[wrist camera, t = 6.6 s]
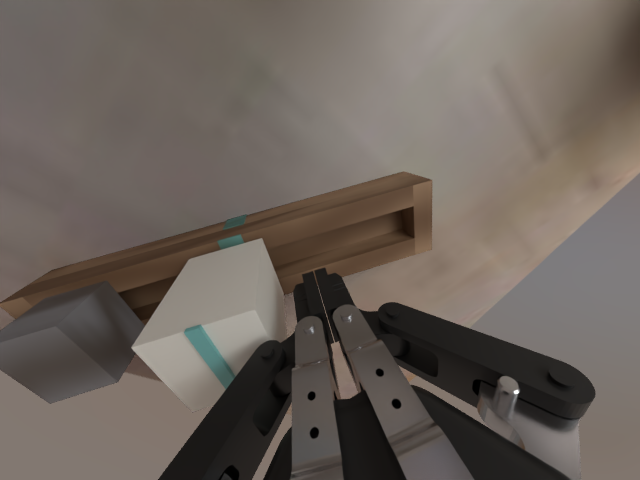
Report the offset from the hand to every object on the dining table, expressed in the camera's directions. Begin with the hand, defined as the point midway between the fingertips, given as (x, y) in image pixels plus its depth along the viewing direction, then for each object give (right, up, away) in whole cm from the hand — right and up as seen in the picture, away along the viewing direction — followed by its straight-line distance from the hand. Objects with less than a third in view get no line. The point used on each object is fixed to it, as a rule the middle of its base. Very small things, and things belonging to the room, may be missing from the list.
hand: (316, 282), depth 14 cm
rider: (-6, +1, +4) cm, 7 cm away
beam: (-6, +2, +6) cm, 9 cm away
